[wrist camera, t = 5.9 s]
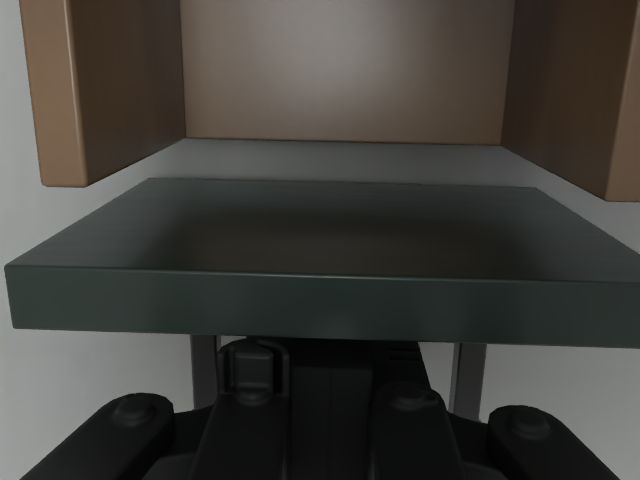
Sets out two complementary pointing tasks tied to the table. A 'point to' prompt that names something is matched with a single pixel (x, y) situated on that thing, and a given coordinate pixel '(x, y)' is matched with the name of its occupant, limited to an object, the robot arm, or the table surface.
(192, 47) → the drawer
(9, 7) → the table surface
